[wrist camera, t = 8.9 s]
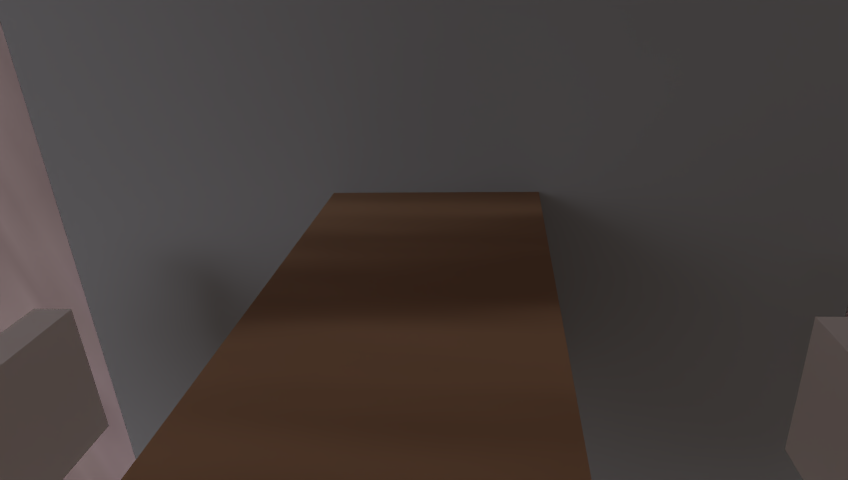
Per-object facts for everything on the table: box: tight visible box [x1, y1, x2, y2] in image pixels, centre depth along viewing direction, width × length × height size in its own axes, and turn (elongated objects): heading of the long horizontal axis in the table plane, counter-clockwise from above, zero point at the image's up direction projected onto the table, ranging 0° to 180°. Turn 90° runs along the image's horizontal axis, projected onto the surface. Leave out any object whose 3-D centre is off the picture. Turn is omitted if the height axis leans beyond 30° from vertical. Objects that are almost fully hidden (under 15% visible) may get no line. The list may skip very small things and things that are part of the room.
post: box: [121, 192, 592, 480], centre depth 9 cm, size 4×4×12 cm
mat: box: [0, 0, 848, 480], centre depth 15 cm, size 20×18×1 cm
